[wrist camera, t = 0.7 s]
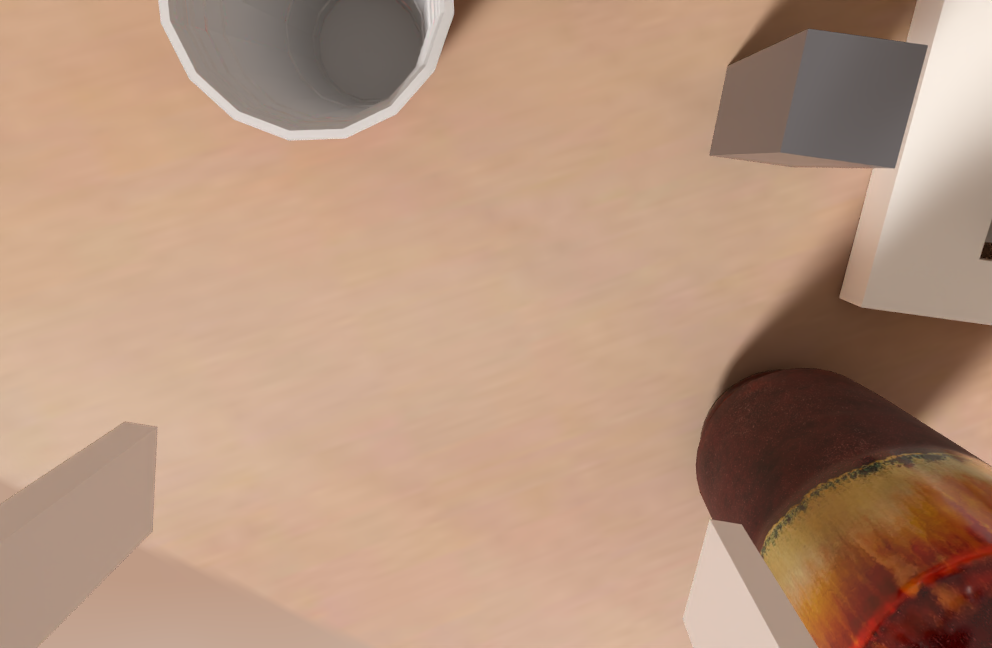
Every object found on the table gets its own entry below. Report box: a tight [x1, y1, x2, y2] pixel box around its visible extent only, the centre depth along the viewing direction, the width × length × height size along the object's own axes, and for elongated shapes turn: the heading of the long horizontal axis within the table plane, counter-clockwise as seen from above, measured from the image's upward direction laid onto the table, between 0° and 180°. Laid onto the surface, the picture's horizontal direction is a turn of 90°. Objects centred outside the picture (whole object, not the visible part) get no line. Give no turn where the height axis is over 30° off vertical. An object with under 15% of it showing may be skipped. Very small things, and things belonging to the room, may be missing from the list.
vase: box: [696, 368, 992, 648], centre depth 27 cm, size 11×11×26 cm
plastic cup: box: [158, 0, 454, 140], centre depth 29 cm, size 11×11×12 cm
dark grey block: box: [710, 29, 928, 168], centre depth 31 cm, size 5×5×10 cm
